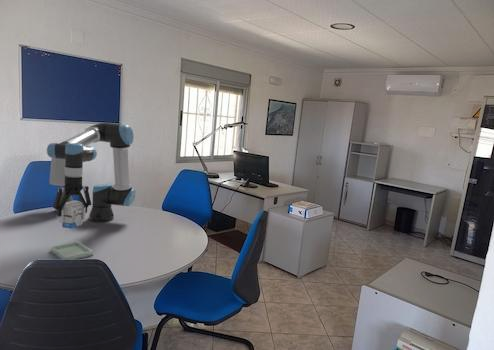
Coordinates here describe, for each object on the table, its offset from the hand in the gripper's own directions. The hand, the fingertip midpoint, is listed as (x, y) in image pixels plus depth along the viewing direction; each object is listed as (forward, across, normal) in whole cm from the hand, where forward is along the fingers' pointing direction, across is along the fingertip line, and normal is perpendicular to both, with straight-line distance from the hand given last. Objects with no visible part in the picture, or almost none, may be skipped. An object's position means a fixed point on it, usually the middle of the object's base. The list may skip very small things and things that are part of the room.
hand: (72, 221), depth 164 cm
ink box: (+3, 0, 0) cm, 3 cm away
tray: (+16, 0, 0) cm, 16 cm away
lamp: (+17, -26, -73) cm, 79 cm away
